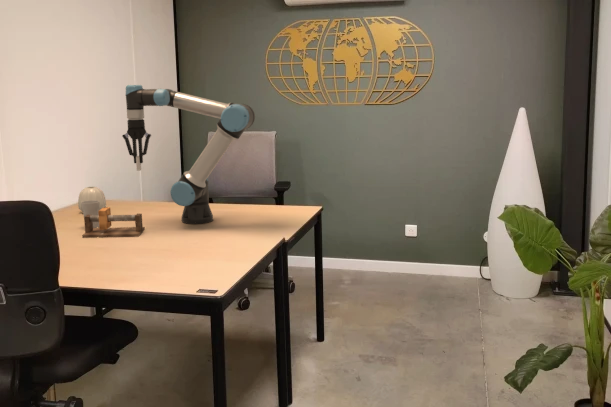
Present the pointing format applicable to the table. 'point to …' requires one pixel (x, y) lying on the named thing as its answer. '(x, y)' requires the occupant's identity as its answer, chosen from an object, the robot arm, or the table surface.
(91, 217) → the pipe stand
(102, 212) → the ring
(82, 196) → the vase
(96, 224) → the cup
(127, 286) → the table surface
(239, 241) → the table surface
